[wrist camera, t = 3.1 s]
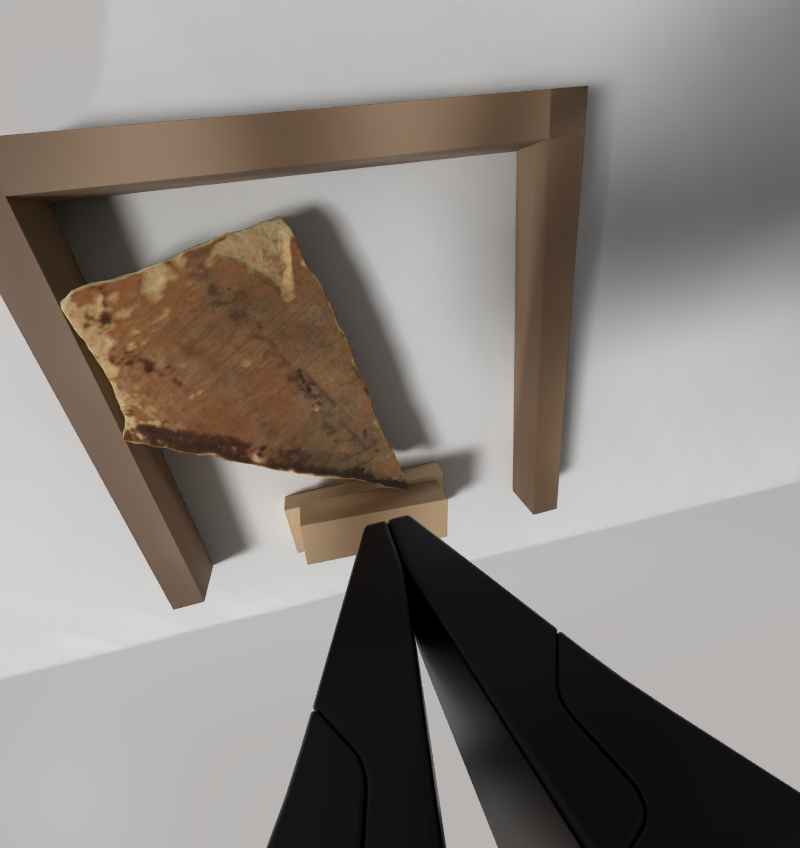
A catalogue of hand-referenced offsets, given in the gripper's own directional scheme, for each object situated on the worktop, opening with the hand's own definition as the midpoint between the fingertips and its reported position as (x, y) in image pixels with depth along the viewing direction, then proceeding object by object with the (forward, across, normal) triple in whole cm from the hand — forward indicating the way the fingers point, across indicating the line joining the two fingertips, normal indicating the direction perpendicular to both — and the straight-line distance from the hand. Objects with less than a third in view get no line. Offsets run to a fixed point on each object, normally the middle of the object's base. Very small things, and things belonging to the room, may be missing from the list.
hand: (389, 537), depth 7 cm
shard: (+11, -2, 0) cm, 11 cm away
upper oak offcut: (+9, 0, +6) cm, 10 cm away
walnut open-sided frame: (+10, 0, 0) cm, 10 cm away
